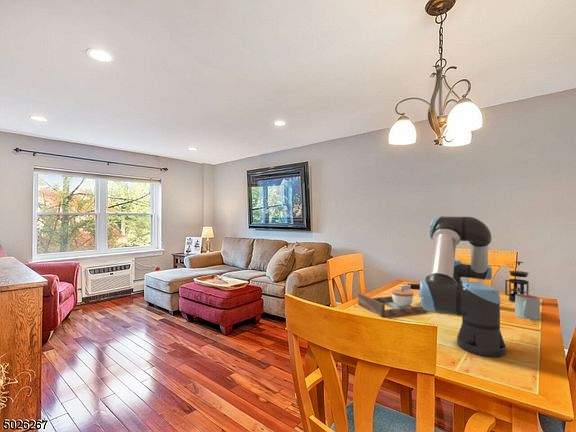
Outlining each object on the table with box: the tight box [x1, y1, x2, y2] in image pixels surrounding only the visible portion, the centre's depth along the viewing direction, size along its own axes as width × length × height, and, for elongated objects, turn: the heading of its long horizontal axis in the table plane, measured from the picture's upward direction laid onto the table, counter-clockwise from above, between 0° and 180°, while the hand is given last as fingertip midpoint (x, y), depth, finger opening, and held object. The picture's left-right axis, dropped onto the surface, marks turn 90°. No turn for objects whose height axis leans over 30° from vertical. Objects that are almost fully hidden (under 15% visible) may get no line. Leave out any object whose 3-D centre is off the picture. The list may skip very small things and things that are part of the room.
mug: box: [514, 293, 541, 321], centre depth 140 cm, size 14×9×10 cm
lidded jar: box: [391, 288, 414, 308], centre depth 156 cm, size 11×11×9 cm
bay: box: [357, 293, 426, 318], centre depth 154 cm, size 26×21×6 cm
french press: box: [504, 260, 530, 303], centre depth 170 cm, size 12×9×23 cm
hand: (409, 290), depth 158 cm, fingers open, 13 cm apart
